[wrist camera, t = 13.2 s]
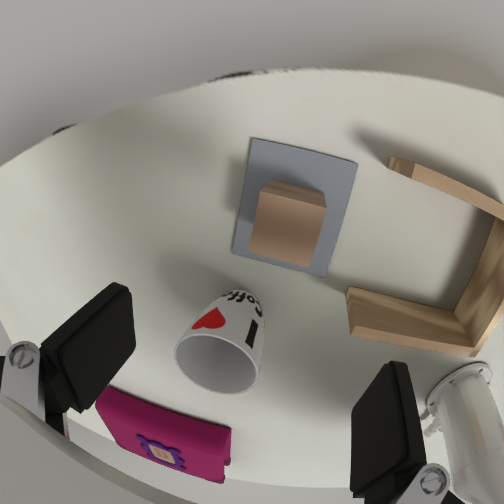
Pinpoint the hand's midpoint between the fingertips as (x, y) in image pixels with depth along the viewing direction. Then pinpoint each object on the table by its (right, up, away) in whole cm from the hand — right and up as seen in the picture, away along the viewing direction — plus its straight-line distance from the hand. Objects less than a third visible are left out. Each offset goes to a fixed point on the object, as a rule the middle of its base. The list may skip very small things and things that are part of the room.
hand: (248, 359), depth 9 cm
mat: (+4, +8, +18) cm, 20 cm away
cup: (-1, -3, +24) cm, 24 cm away
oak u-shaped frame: (+19, +4, +16) cm, 25 cm away
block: (+4, +8, +17) cm, 19 cm away
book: (-18, -36, +43) cm, 58 cm away
